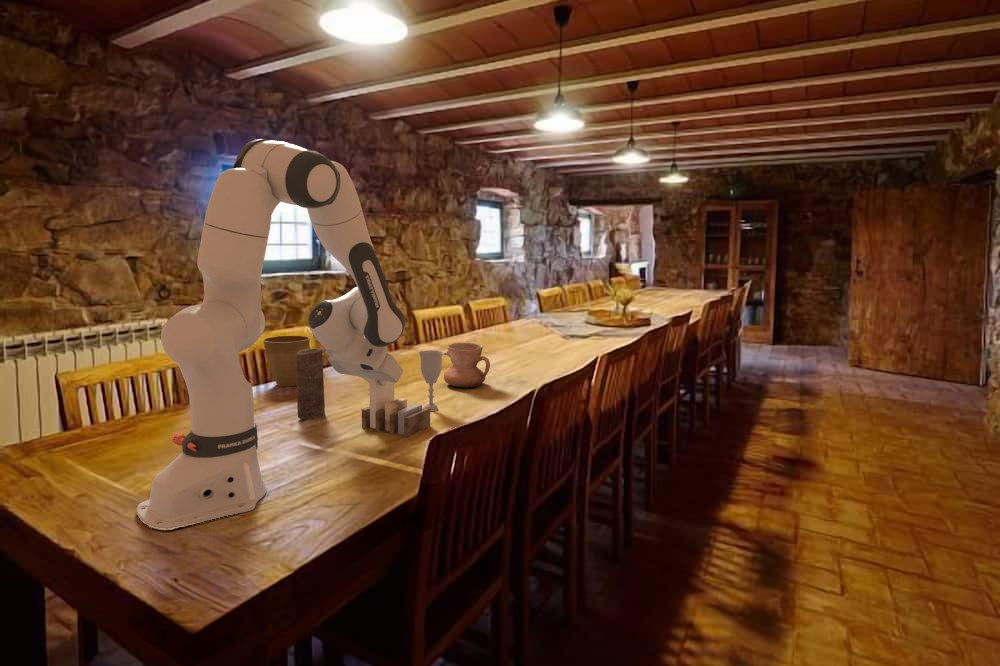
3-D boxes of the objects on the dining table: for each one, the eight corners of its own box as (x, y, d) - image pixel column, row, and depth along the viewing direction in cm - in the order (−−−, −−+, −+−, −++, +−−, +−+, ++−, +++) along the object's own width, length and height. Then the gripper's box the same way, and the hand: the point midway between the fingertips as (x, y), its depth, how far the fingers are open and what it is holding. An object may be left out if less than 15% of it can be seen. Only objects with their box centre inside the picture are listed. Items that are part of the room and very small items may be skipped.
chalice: (414, 413, 174) (413, 353, 171) (427, 407, 180) (427, 349, 177) (434, 417, 170) (435, 356, 167) (447, 411, 176) (448, 352, 173)
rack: (408, 440, 151) (407, 418, 150) (362, 431, 157) (361, 409, 156) (430, 429, 159) (430, 408, 158) (385, 420, 166) (385, 400, 165)
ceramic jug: (432, 386, 205) (433, 346, 202) (453, 377, 217) (454, 339, 215) (478, 394, 197) (479, 352, 194) (497, 384, 210) (498, 345, 207)
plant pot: (320, 383, 206) (319, 337, 203) (284, 392, 194) (282, 344, 191) (292, 376, 214) (290, 333, 211) (256, 385, 201) (253, 339, 199)
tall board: (376, 428, 156) (375, 369, 154) (370, 427, 157) (369, 368, 155) (394, 420, 163) (394, 364, 161) (388, 419, 164) (388, 363, 162)
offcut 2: (404, 434, 152) (404, 412, 151) (398, 433, 153) (397, 411, 152) (422, 426, 159) (422, 404, 158) (416, 424, 160) (415, 403, 159)
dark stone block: (316, 424, 162) (314, 352, 159) (292, 422, 164) (289, 351, 160) (329, 416, 169) (327, 347, 166) (306, 414, 171) (304, 346, 168)
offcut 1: (391, 431, 155) (390, 405, 154) (385, 429, 156) (384, 404, 154) (407, 423, 161) (406, 399, 160) (401, 422, 162) (400, 397, 161)
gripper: (315, 358, 150) (343, 387, 160) (379, 368, 141) (404, 398, 151) (327, 338, 153) (354, 368, 163) (391, 346, 144) (414, 377, 154)
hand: (378, 382), depth 157 cm, fingers closed on tall board, 2 cm apart
